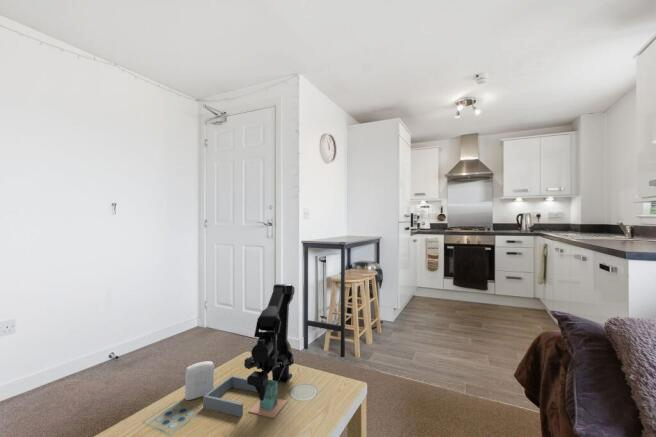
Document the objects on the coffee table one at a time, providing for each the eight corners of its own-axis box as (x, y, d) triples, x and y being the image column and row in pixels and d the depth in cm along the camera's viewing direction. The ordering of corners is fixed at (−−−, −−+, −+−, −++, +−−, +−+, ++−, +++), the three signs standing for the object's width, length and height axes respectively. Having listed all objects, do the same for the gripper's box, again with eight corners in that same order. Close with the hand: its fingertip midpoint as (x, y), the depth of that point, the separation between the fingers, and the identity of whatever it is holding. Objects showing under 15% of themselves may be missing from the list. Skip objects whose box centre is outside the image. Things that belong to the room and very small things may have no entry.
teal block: (266, 401, 111) (266, 379, 111) (277, 403, 109) (277, 381, 109) (259, 408, 107) (259, 385, 107) (270, 410, 105) (270, 387, 105)
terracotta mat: (263, 396, 114) (263, 395, 114) (287, 401, 111) (287, 400, 111) (248, 412, 105) (248, 411, 105) (274, 418, 101) (274, 417, 101)
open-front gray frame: (231, 385, 123) (231, 375, 123) (265, 392, 117) (265, 381, 117) (203, 407, 108) (203, 396, 108) (241, 416, 102) (241, 405, 102)
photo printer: (212, 388, 120) (212, 357, 120) (214, 393, 117) (215, 361, 117) (184, 396, 114) (184, 364, 115) (185, 402, 111) (186, 368, 111)
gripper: (263, 337, 120) (262, 377, 119) (233, 357, 102) (233, 403, 102) (288, 341, 116) (288, 381, 116) (262, 361, 99) (262, 410, 98)
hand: (268, 393), depth 108 cm, fingers open, 9 cm apart
